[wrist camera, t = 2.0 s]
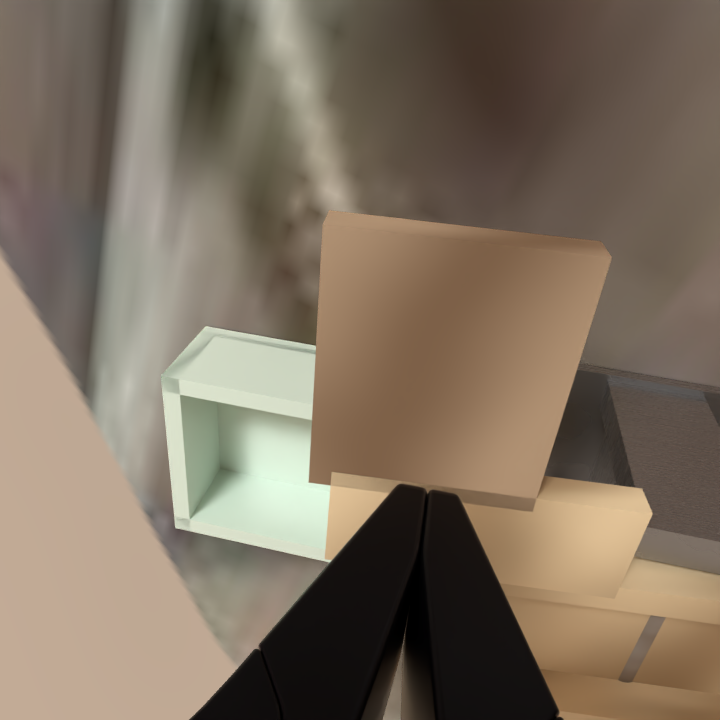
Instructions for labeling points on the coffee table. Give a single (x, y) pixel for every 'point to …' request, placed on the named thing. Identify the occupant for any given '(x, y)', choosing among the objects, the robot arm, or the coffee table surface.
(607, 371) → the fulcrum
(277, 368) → the mint cubby shelf
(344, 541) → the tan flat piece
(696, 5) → the coffee table surface
